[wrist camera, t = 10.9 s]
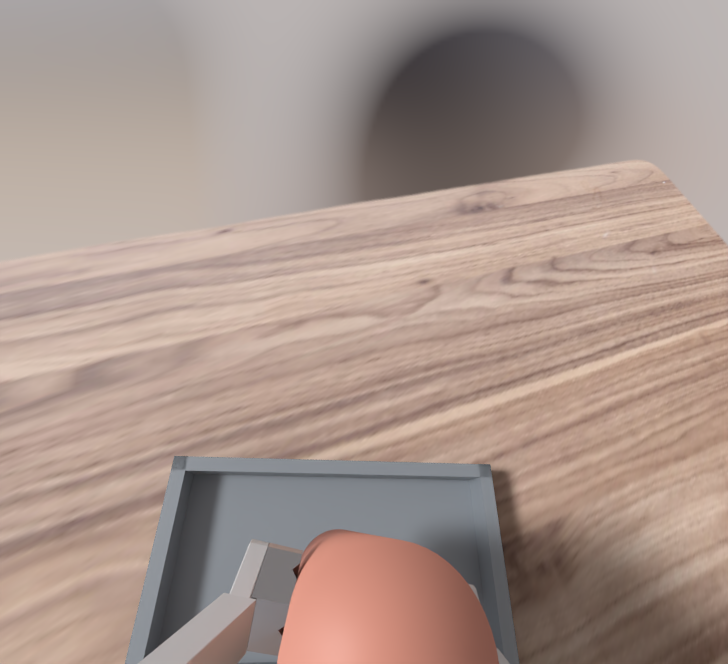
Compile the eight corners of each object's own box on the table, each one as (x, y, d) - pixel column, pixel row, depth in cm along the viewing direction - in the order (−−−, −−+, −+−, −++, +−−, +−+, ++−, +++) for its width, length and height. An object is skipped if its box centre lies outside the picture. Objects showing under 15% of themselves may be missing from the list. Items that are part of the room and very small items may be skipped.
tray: (475, 469, 26) (490, 464, 24) (500, 669, 21) (522, 686, 19) (186, 462, 24) (174, 456, 22) (137, 682, 19) (115, 703, 17)
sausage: (375, 529, 17) (483, 539, 7) (376, 622, 16) (520, 833, 5) (300, 528, 17) (287, 538, 6) (292, 624, 15) (258, 858, 5)
